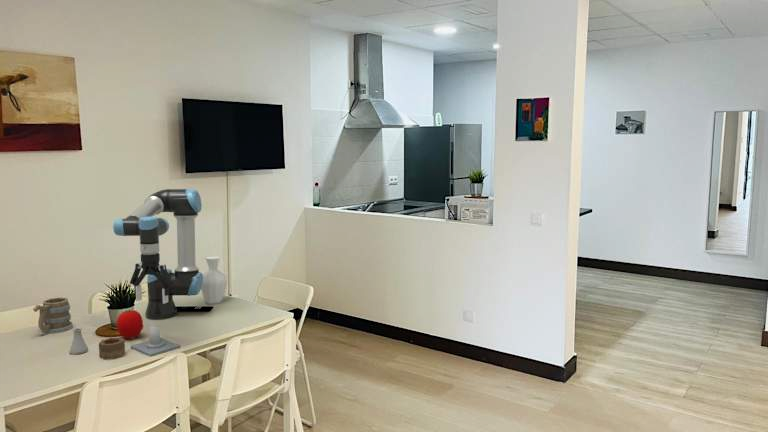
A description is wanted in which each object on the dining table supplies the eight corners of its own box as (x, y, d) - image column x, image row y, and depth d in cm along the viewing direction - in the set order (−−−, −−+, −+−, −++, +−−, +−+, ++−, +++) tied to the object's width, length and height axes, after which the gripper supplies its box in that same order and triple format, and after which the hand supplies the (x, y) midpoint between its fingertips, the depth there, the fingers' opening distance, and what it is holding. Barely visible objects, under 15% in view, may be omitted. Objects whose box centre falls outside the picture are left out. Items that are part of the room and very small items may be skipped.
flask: (75, 348, 252) (73, 326, 250) (91, 348, 251) (90, 326, 250) (65, 354, 244) (64, 331, 243) (82, 355, 244) (81, 332, 243)
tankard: (56, 323, 285) (53, 294, 283) (78, 325, 282) (76, 295, 280) (23, 337, 265) (20, 305, 263) (47, 339, 263) (44, 307, 261)
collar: (96, 355, 243) (95, 341, 243) (117, 349, 250) (116, 336, 249) (107, 360, 238) (106, 346, 237) (128, 354, 245) (127, 340, 244)
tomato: (140, 341, 261) (138, 313, 259) (114, 342, 259) (112, 314, 258) (146, 332, 272) (144, 306, 270) (121, 334, 270) (120, 307, 269)
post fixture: (130, 348, 252) (129, 326, 251) (160, 339, 263) (159, 319, 262) (150, 356, 242) (149, 334, 241) (180, 347, 253) (179, 326, 252)
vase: (212, 306, 314) (211, 261, 311) (195, 302, 322) (193, 258, 318) (233, 300, 326) (231, 256, 323) (215, 296, 334) (214, 254, 330)
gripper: (119, 252, 249) (122, 301, 251) (169, 256, 241) (171, 306, 244) (131, 249, 256) (134, 297, 258) (180, 253, 249) (182, 301, 251)
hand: (152, 301), depth 251 cm, fingers open, 13 cm apart
